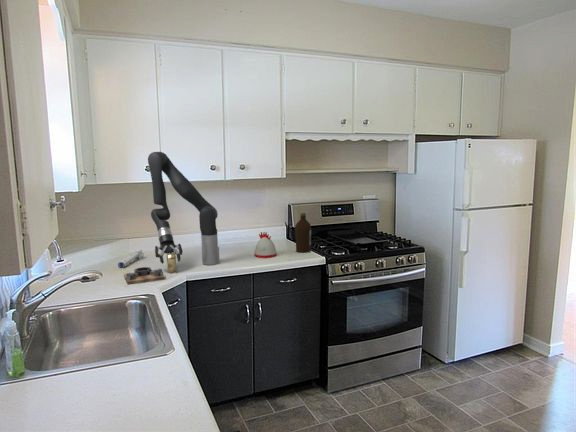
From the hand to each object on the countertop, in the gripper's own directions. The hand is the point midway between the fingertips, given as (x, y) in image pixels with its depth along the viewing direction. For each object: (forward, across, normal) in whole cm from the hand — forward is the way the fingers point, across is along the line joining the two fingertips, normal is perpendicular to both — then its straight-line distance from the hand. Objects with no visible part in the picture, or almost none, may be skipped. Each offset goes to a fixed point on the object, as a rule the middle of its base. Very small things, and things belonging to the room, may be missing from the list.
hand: (171, 261), depth 223 cm
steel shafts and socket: (+6, -15, +1) cm, 16 cm away
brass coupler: (+4, 0, +4) cm, 6 cm away
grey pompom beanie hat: (-3, +60, +11) cm, 61 cm away
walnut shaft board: (+7, -15, +1) cm, 16 cm away
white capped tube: (-19, -16, +28) cm, 38 cm away
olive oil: (-1, +87, +9) cm, 87 cm away
